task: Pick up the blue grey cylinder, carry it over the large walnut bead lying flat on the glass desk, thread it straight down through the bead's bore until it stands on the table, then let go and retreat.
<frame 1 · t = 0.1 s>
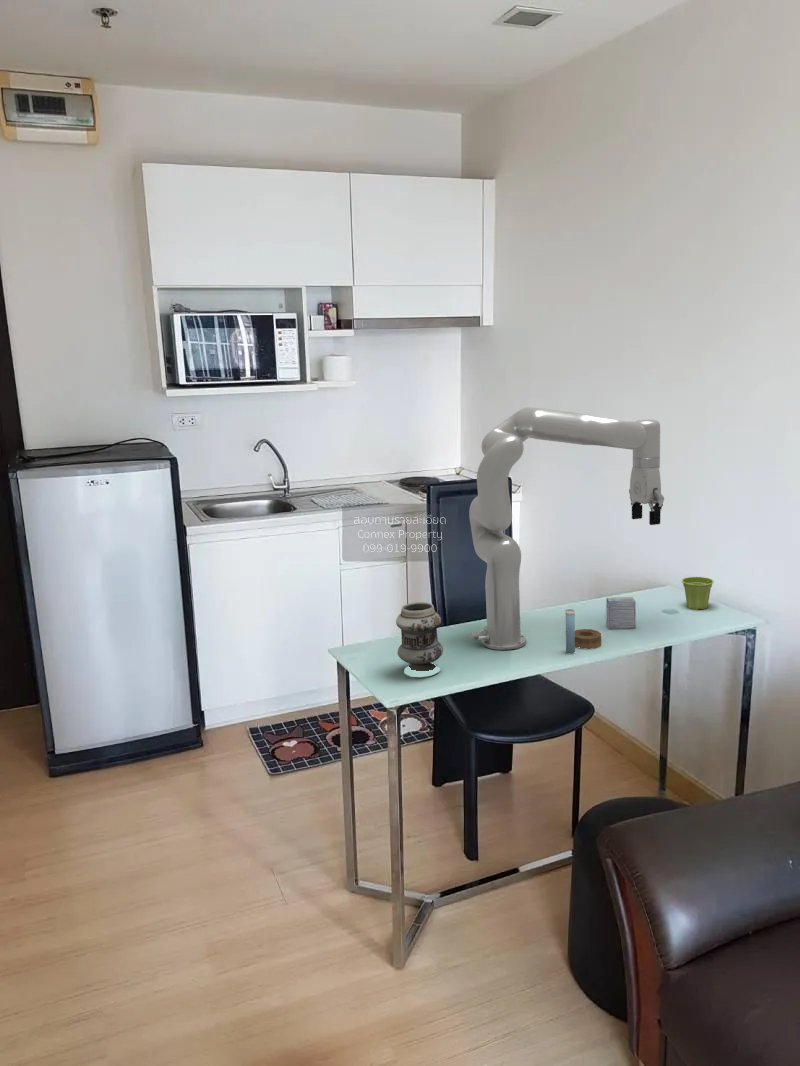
hand: (645, 521, 237), 31 cm above the table, tool pointing down, fingers open, 9 cm apart
medicine box: (620, 627, 241), on the table
blue grey cylinder: (570, 652, 223), on the table
plant pot: (697, 607, 256), on the table
bead: (586, 643, 228), on the table
apothecary jar: (421, 671, 215), on the table
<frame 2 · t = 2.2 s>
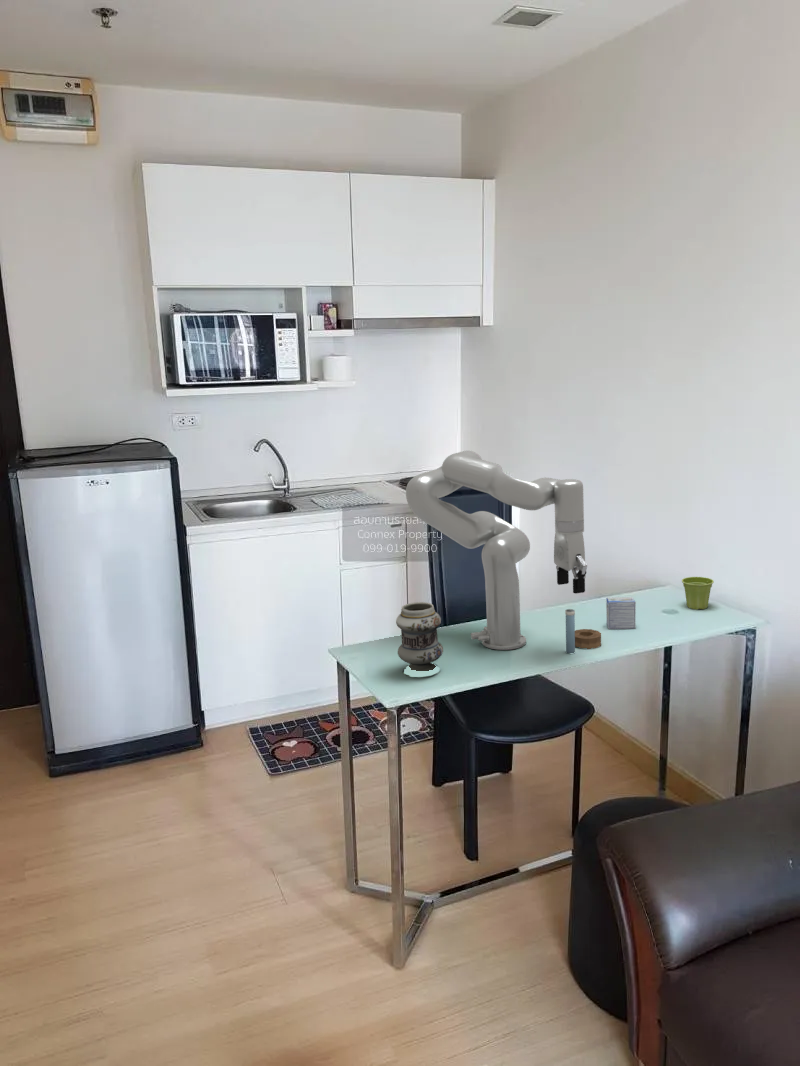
hand: (570, 588, 219), 18 cm above the table, tool pointing down, fingers open, 9 cm apart
nothing on the table moved.
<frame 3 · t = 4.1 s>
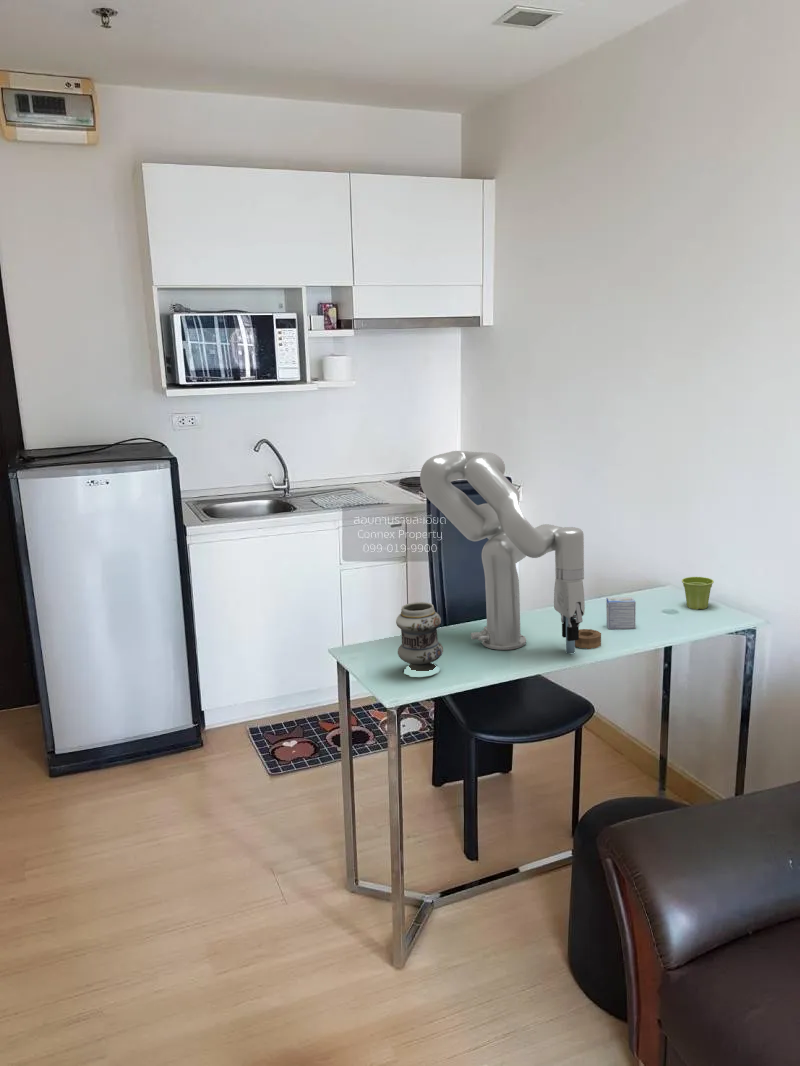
hand: (570, 637, 222), 4 cm above the table, tool pointing down, fingers closed on blue grey cylinder, 2 cm apart
blue grey cylinder: (570, 652, 223), on the table, touching gripper
everything else where it was.
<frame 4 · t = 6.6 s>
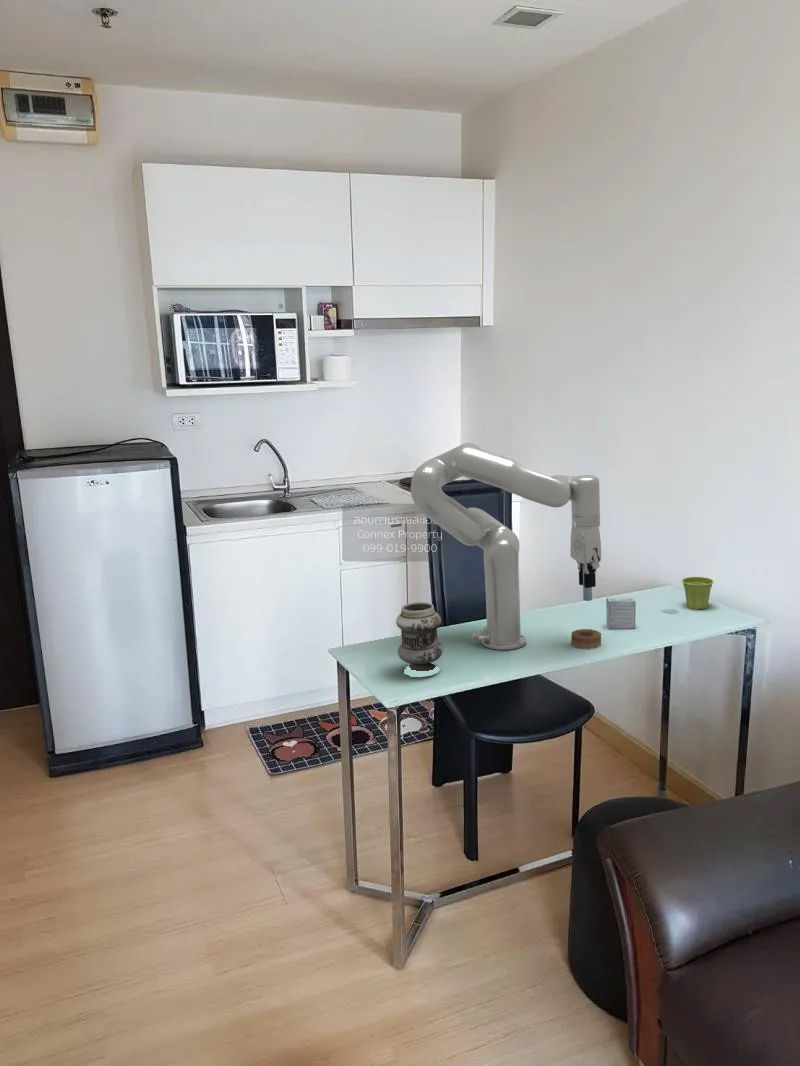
hand: (587, 585, 225), 17 cm above the table, tool pointing down, fingers closed on blue grey cylinder
blue grey cylinder: (587, 599, 226), point 13 cm above the table, touching gripper
everything else where it was.
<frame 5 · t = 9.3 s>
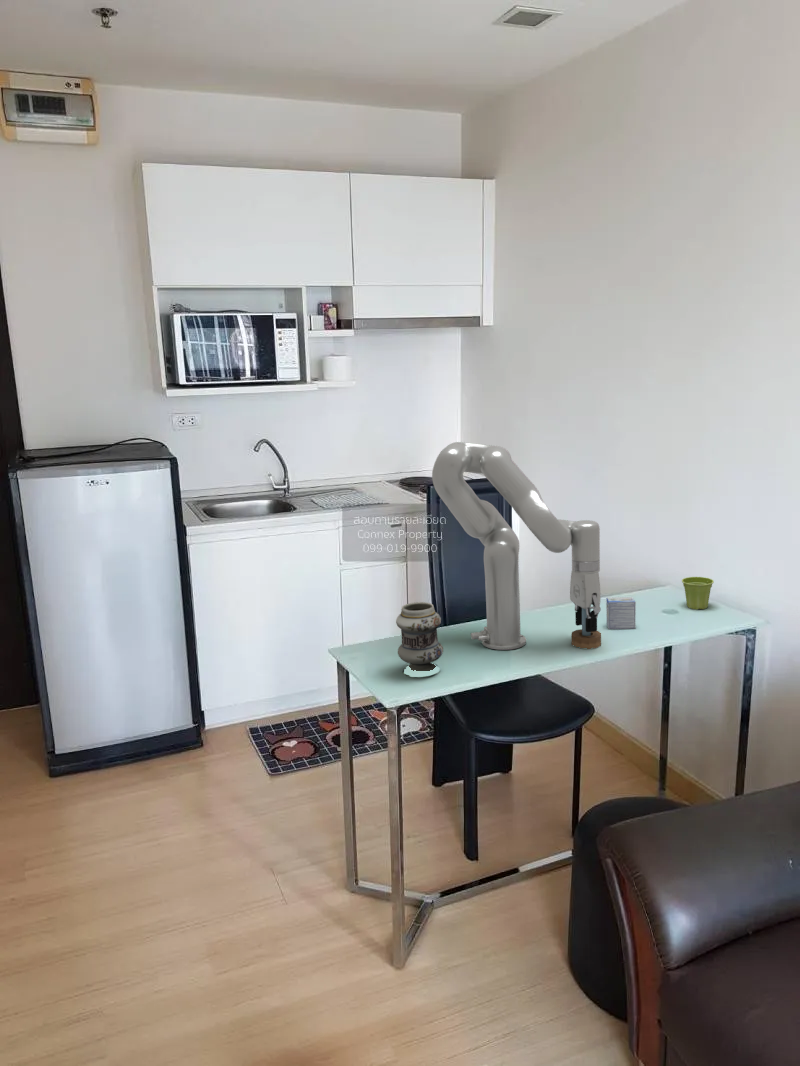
hand: (586, 627, 227), 5 cm above the table, tool pointing down, fingers open, 5 cm apart
blue grey cylinder: (586, 643, 228), resting in bead
everything else where it was.
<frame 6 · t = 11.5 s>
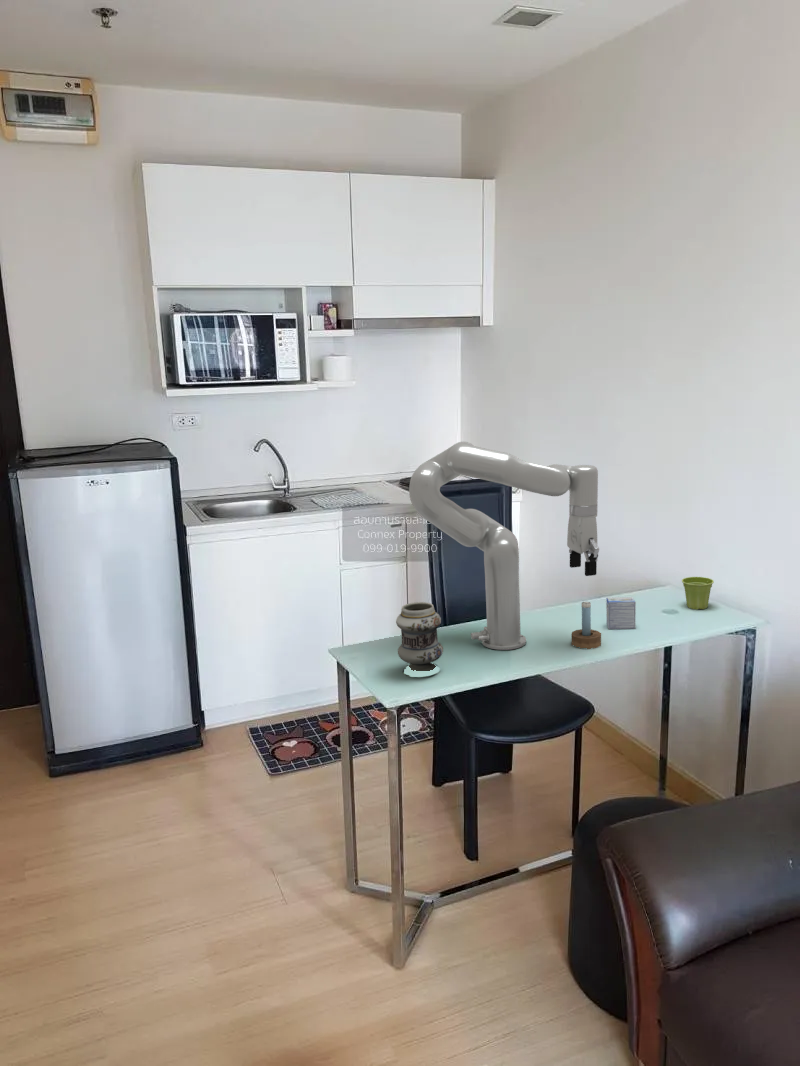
hand: (582, 571, 225), 21 cm above the table, tool pointing down, fingers open, 9 cm apart
nothing on the table moved.
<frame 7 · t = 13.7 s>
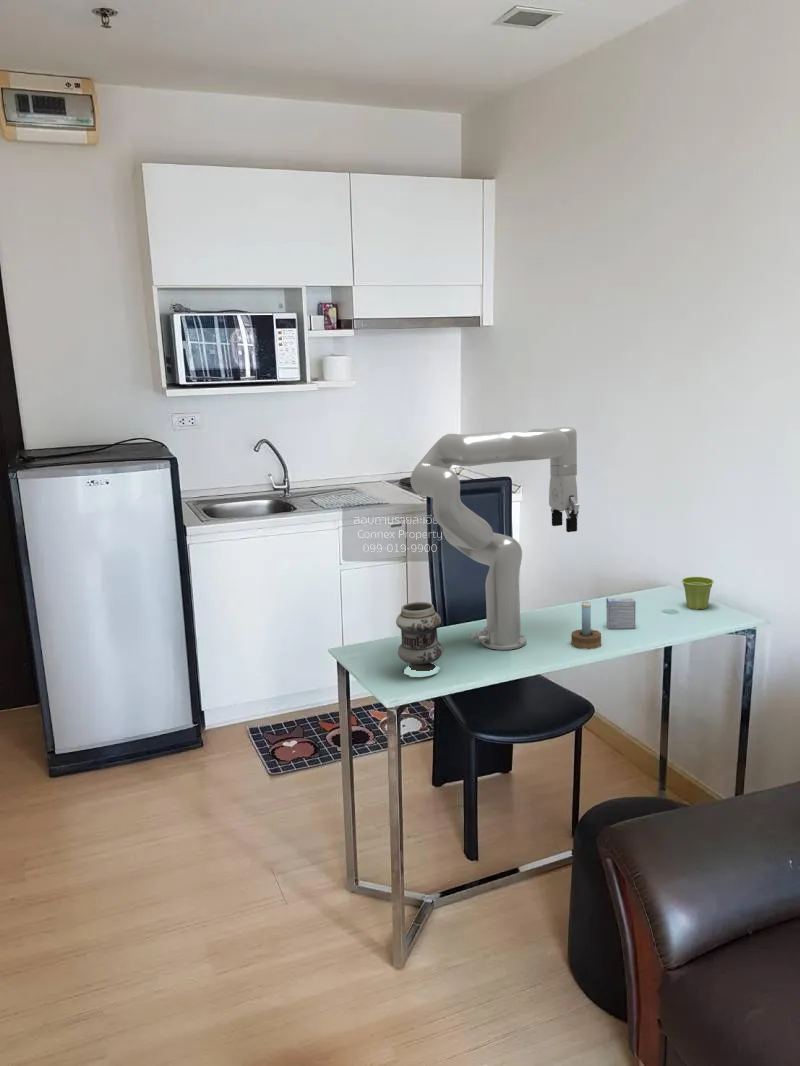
hand: (564, 528, 237), 30 cm above the table, tool pointing down, fingers open, 9 cm apart
nothing on the table moved.
at the end: blue grey cylinder 0.0 cm off-centre on the bead, point 0.0 cm above the bead's base; blue grey cylinder tilted 0°; the gripper is holding nothing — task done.
